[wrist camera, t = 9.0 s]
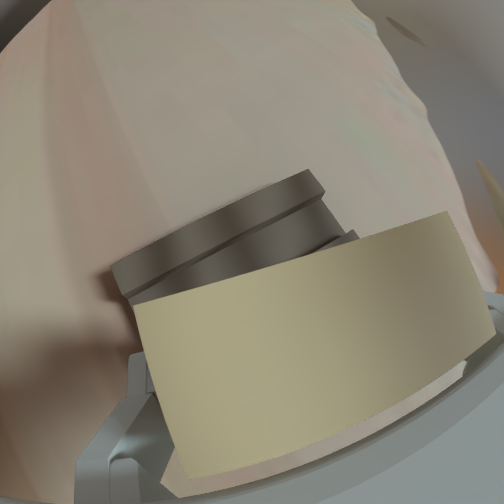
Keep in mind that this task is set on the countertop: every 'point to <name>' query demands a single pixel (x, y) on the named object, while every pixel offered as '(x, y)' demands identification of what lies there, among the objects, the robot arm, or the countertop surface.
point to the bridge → (234, 241)
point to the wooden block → (311, 343)
